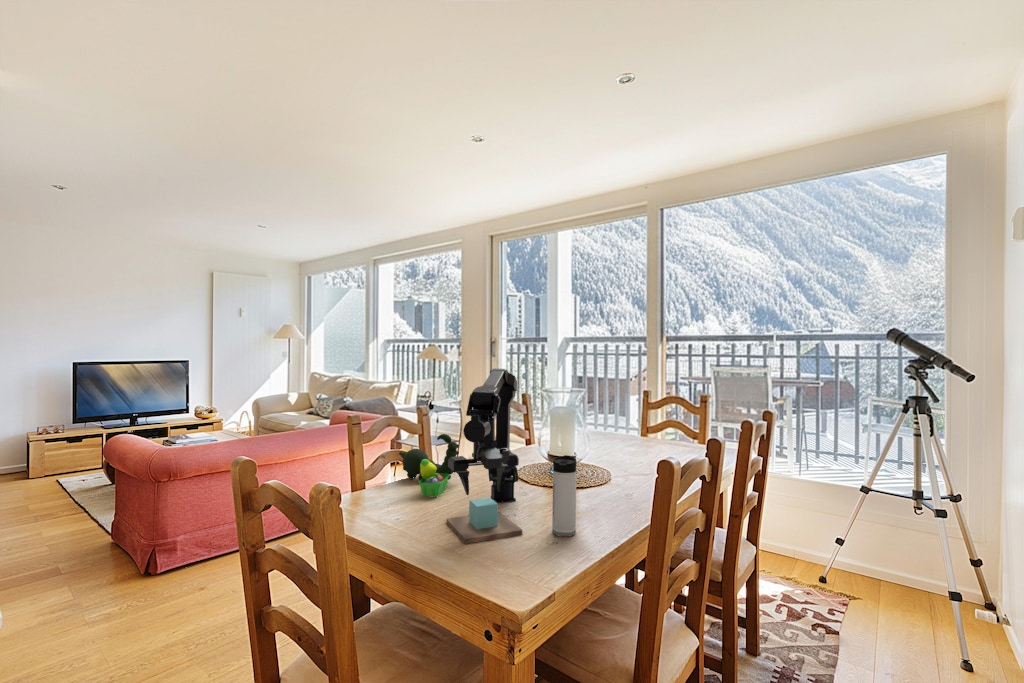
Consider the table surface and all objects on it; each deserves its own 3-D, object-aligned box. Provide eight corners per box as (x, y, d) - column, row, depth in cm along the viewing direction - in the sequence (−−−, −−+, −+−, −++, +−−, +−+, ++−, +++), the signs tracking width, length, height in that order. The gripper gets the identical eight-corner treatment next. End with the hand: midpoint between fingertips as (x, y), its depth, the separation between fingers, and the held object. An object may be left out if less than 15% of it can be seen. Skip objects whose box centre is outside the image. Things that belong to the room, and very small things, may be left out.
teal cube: (489, 518, 140) (489, 497, 140) (497, 526, 134) (497, 503, 134) (469, 521, 137) (469, 500, 137) (476, 529, 132) (477, 506, 132)
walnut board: (498, 515, 147) (498, 511, 147) (522, 534, 132) (522, 529, 132) (446, 522, 140) (446, 518, 140) (464, 543, 125) (465, 539, 125)
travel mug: (578, 529, 136) (578, 456, 136) (573, 538, 130) (573, 461, 130) (555, 526, 138) (556, 454, 138) (549, 535, 132) (550, 459, 132)
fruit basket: (439, 498, 162) (440, 463, 162) (413, 497, 163) (414, 462, 163) (450, 488, 173) (450, 456, 173) (425, 487, 174) (426, 454, 174)
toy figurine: (460, 486, 182) (405, 471, 193) (464, 434, 181) (409, 423, 192) (445, 493, 173) (389, 477, 184) (450, 439, 173) (393, 426, 183)
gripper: (460, 443, 125) (460, 506, 125) (527, 438, 132) (527, 497, 132) (447, 435, 135) (447, 493, 135) (510, 431, 143) (510, 486, 142)
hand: (483, 492), depth 136 cm, fingers open, 9 cm apart
